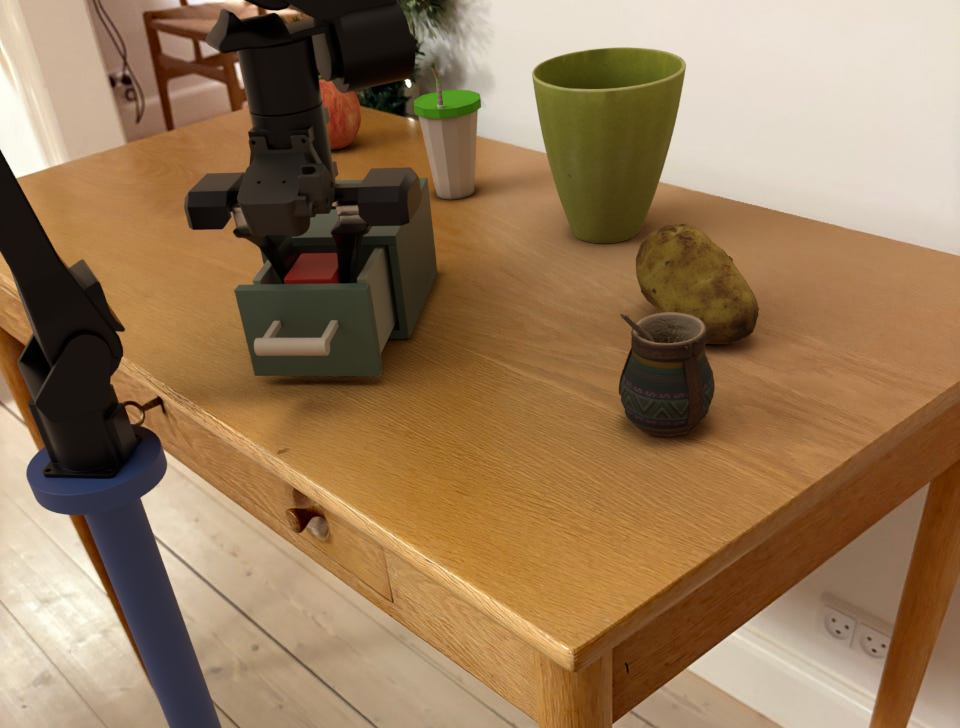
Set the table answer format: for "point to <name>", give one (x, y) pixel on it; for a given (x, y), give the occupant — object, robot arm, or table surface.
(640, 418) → the mate gourd
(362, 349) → the drawer
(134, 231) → the table surface
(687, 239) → the potato
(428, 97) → the cup
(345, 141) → the fruit
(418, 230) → the cabinet
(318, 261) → the red block
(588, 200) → the flower pot
